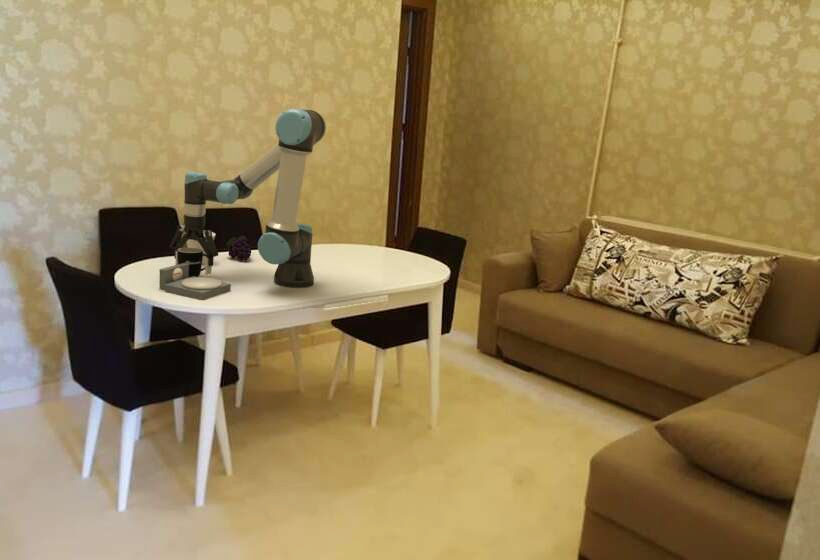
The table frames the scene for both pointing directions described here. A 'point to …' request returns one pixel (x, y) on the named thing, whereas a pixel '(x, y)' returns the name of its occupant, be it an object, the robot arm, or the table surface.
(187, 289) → the scale
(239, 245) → the fruit
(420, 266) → the table surface
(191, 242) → the cup
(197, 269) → the mug
